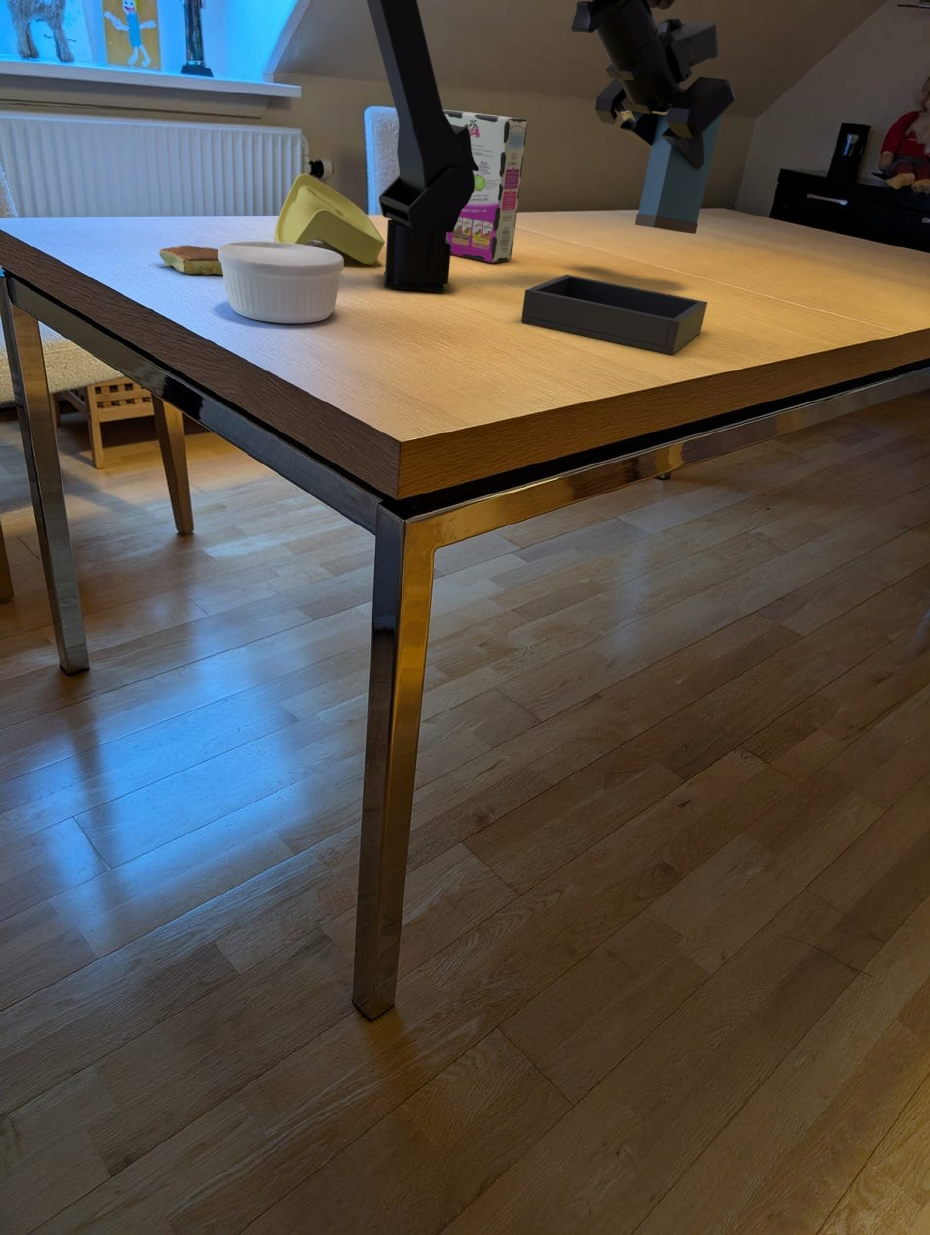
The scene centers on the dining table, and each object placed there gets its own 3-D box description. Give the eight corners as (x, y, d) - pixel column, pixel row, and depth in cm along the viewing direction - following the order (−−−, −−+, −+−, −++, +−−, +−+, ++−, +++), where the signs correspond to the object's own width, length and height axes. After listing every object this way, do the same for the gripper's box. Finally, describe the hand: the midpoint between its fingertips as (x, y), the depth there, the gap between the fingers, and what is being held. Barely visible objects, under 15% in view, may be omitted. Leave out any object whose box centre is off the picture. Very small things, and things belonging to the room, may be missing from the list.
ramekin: (296, 293, 88) (296, 237, 86) (367, 320, 82) (369, 261, 79) (196, 303, 81) (192, 242, 79) (265, 333, 75) (264, 268, 72)
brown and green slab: (282, 277, 94) (281, 259, 93) (236, 287, 88) (235, 268, 87) (201, 259, 98) (200, 242, 97) (152, 268, 92) (150, 249, 91)
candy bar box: (513, 261, 116) (530, 119, 108) (493, 264, 113) (509, 118, 104) (443, 245, 121) (455, 108, 113) (422, 248, 118) (432, 107, 109)
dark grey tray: (520, 322, 88) (524, 289, 86) (561, 303, 97) (566, 274, 95) (672, 355, 83) (679, 321, 81) (700, 332, 92) (707, 302, 90)
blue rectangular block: (653, 227, 104) (682, 91, 99) (634, 224, 108) (661, 93, 102) (695, 234, 107) (726, 102, 101) (675, 231, 110) (703, 104, 105)
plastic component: (388, 247, 102) (311, 200, 97) (358, 303, 105) (282, 261, 100) (361, 206, 117) (293, 164, 112) (335, 257, 120) (267, 218, 115)
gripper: (746, -16, 87) (794, 121, 97) (636, -13, 101) (688, 107, 111) (664, 68, 88) (721, 195, 98) (566, 60, 102) (625, 172, 112)
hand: (688, 164), depth 105 cm, fingers closed on blue rectangular block, 4 cm apart
